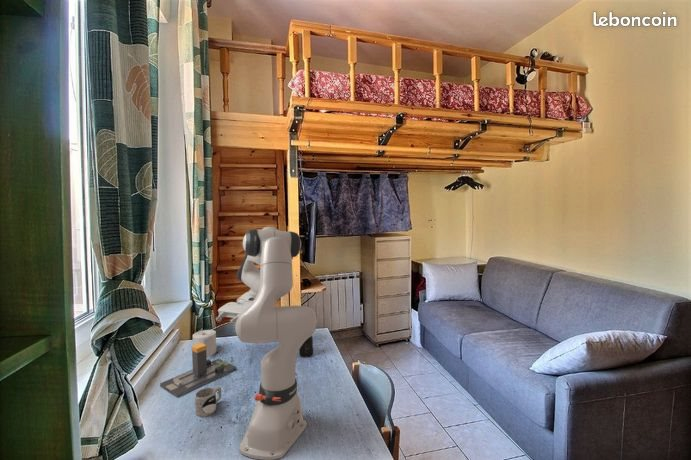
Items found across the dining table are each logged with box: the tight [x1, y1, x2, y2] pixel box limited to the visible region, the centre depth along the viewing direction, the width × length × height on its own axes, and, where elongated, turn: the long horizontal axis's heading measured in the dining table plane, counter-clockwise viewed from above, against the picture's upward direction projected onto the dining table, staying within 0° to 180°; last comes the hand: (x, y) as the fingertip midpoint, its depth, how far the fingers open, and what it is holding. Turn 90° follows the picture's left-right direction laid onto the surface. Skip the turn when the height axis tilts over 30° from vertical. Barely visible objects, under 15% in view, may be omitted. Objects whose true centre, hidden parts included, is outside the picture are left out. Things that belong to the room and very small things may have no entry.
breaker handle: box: [191, 343, 208, 377], centre depth 133 cm, size 4×4×12 cm
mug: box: [194, 386, 222, 418], centre depth 112 cm, size 10×7×7 cm, turn 153°
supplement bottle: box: [298, 335, 314, 358], centre depth 153 cm, size 7×7×12 cm
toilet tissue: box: [192, 329, 217, 359], centre depth 156 cm, size 11×12×10 cm
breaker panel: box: [159, 358, 237, 398], centre depth 133 cm, size 26×14×3 cm, turn 145°
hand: (223, 321), depth 140 cm, fingers open, 8 cm apart
